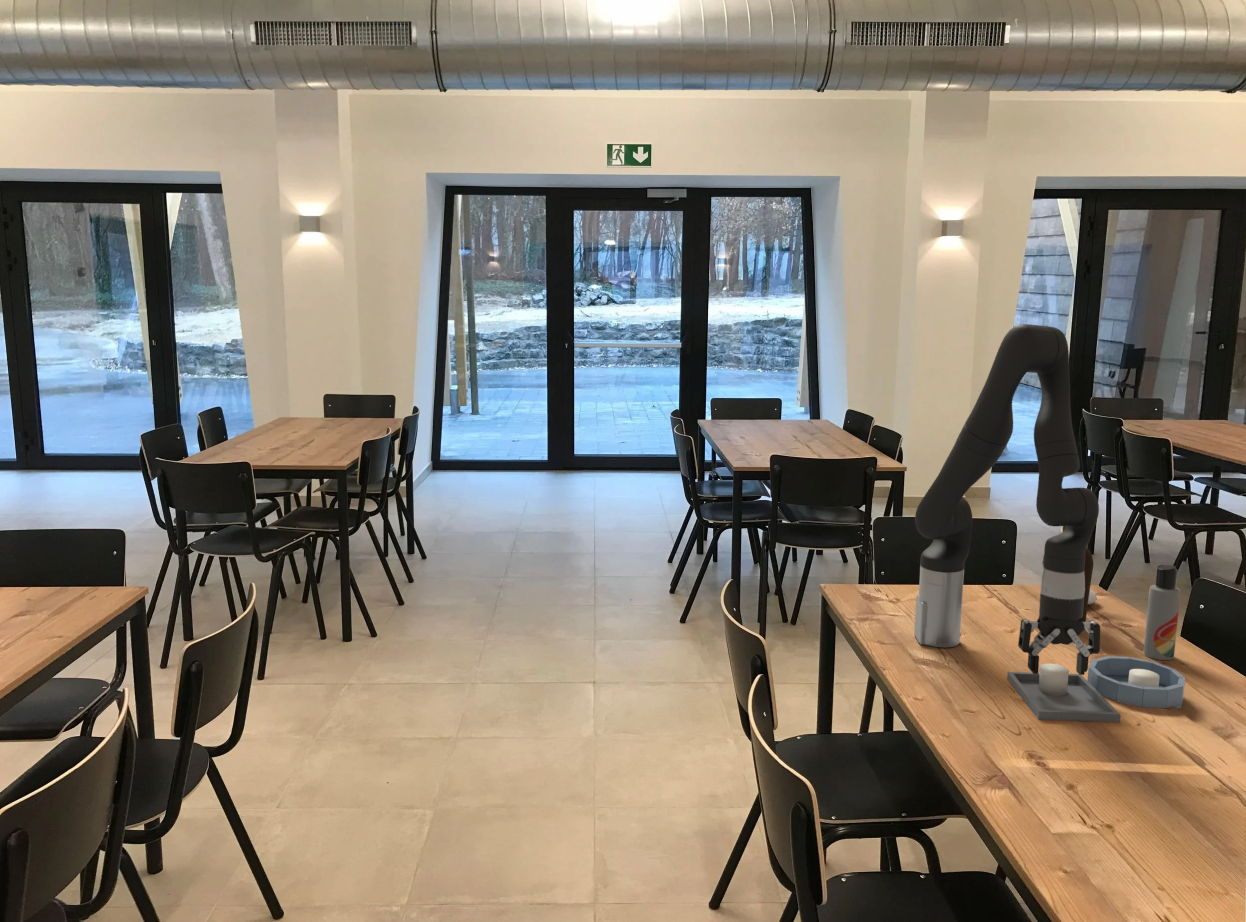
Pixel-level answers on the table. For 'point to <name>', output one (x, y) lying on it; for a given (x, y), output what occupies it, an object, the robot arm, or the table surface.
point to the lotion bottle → (1162, 614)
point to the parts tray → (1064, 699)
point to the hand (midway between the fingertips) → (1057, 672)
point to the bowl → (1113, 684)
